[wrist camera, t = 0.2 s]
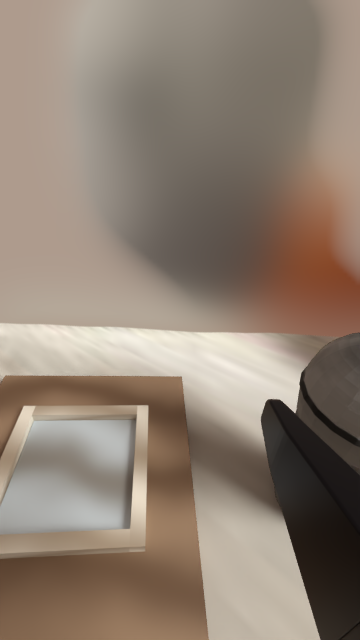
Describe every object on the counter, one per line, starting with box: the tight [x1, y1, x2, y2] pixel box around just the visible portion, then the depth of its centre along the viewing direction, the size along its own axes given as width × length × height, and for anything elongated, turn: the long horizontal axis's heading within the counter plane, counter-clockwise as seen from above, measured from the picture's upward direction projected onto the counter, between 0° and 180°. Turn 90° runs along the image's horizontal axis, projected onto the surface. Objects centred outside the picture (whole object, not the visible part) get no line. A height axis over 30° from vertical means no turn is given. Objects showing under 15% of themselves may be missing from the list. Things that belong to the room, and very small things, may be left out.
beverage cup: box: [275, 333, 360, 507], centre depth 18 cm, size 7×7×20 cm
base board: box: [0, 376, 209, 640], centre depth 23 cm, size 20×18×2 cm
